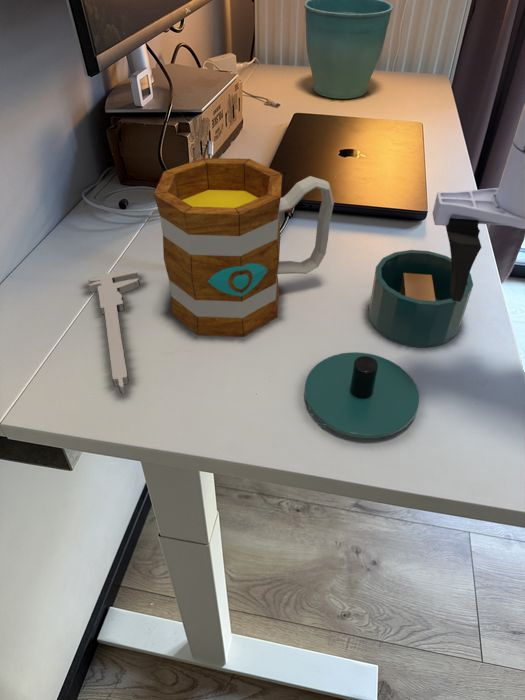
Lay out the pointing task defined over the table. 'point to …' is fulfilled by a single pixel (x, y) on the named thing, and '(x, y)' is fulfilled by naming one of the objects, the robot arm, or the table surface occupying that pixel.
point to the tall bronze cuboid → (418, 286)
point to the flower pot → (344, 44)
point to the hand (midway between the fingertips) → (499, 298)
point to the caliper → (115, 316)
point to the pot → (411, 314)
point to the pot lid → (361, 395)
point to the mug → (230, 242)
